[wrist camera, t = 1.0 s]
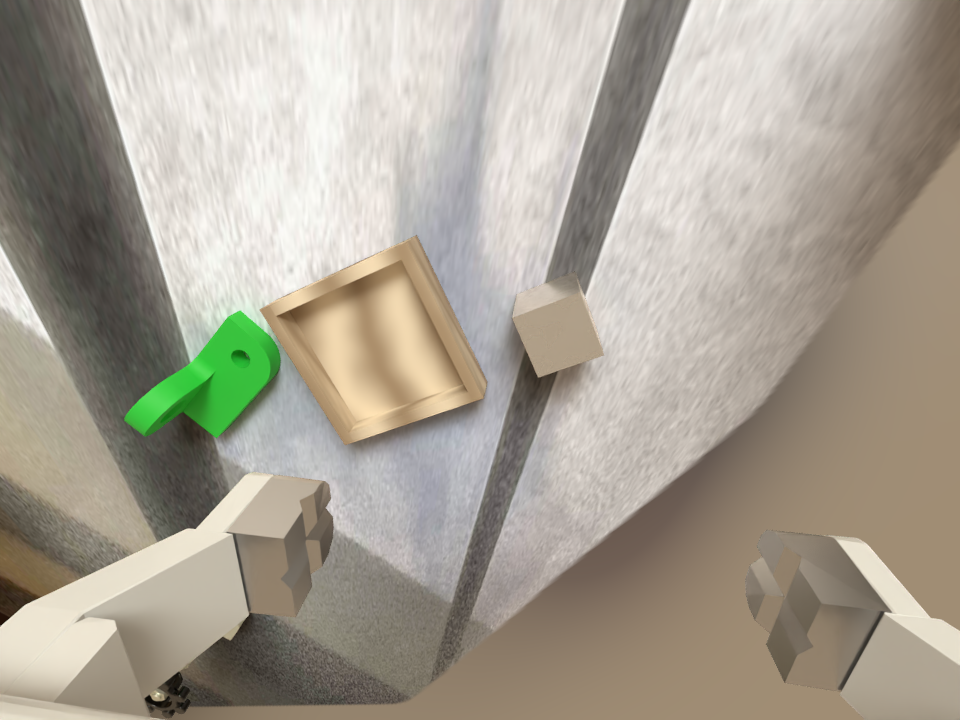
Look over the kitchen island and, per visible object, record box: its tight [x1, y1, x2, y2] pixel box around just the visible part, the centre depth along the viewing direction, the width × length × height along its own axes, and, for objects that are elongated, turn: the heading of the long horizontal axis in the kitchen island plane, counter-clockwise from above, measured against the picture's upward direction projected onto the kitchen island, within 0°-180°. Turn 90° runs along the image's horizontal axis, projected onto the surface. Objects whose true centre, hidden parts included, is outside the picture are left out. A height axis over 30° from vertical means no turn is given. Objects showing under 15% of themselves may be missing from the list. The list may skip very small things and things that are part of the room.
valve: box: [144, 618, 246, 718], centre depth 54 cm, size 7×7×12 cm
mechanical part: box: [124, 311, 281, 438], centre depth 42 cm, size 12×6×8 cm, turn 135°
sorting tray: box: [260, 235, 487, 445], centre depth 41 cm, size 14×14×3 cm
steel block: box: [512, 271, 604, 377], centre depth 37 cm, size 5×5×6 cm
